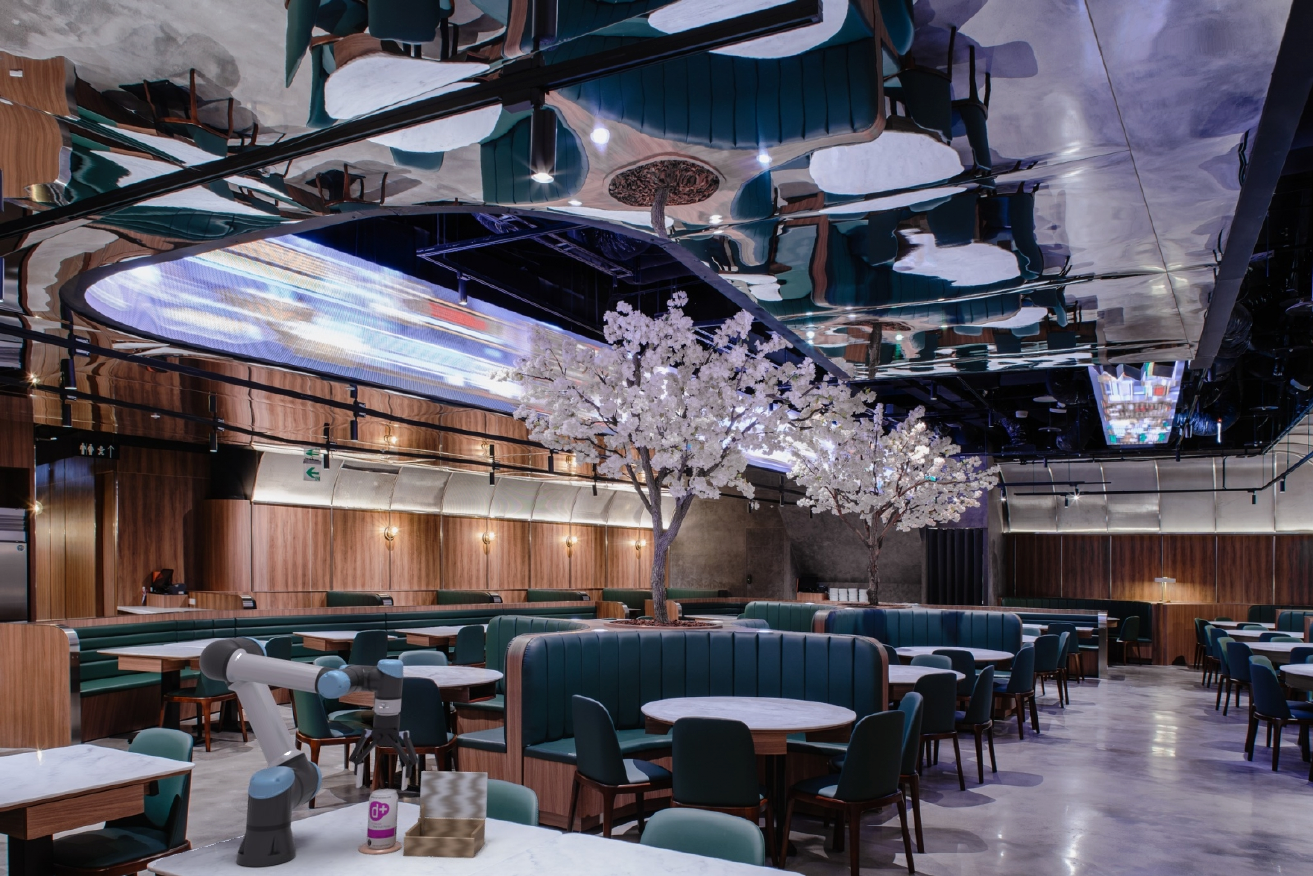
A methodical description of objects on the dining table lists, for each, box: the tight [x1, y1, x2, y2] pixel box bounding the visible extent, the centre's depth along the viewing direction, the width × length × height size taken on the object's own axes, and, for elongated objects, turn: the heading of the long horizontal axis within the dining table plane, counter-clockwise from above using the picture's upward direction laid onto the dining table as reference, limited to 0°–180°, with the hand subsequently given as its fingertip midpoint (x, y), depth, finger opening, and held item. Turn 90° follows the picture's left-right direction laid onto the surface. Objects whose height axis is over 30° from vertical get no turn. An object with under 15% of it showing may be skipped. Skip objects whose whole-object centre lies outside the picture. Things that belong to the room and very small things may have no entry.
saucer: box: [358, 840, 403, 856], centre depth 259 cm, size 12×12×1 cm
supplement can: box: [366, 788, 399, 849], centre depth 260 cm, size 8×8×15 cm
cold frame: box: [402, 770, 488, 859], centre depth 260 cm, size 20×14×20 cm
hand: (381, 788), depth 262 cm, fingers open, 13 cm apart
